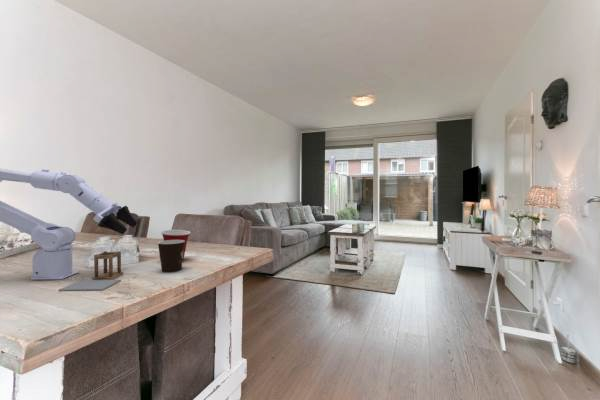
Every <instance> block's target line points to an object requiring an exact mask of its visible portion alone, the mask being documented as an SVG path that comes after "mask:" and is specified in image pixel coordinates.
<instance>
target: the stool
mask: <svg viewBox="0 0 600 400" xmlns="http://www.w3.org/2000/svg"><path fill="white" fill-rule="evenodd" d="M116 257H117V258H116ZM115 258H116V260H117V261H116V263H117V264H116V265H117V267H116V268H117V271H114V270H113V267H114V266H113V265H114V263H113V261H114V259H115ZM99 260H103V272H102V273H100V274H99ZM93 261H94V269H93V270H94V271H93V272H94V276H93V277H91V280H117V279H118V278H120V277H122V276H123V275H124V271H122V251H103V252H101V253H98V254H94V255H93Z"/></svg>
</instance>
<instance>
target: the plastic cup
mask: <svg viewBox="0 0 600 400" xmlns="http://www.w3.org/2000/svg"><path fill="white" fill-rule="evenodd" d="M160 234H161V235H162V238H163V241H166V240H184V241H185V243H184V252H183V260H184V259H185V253H186V248H187V244H188V239H189V236H190V234H191V231H189V230H185V229H167V230H162V231H161V233H160Z"/></svg>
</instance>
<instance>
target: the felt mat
mask: <svg viewBox="0 0 600 400" xmlns="http://www.w3.org/2000/svg"><path fill="white" fill-rule="evenodd" d="M121 281H122V280H121V279H114V280H92V279H80V280H78V281H75V282H73V283H70V284H68V285H66V286H63V287H61V288H59V289H58V291H57V292H84V291H85V292H90V291H92V292H93V291H97V292H98V291H101V292H102V291H105V290H106V289H109V288H111V287H112V286H114V285H117V283H120V282H121Z"/></svg>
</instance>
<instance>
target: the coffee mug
mask: <svg viewBox="0 0 600 400" xmlns="http://www.w3.org/2000/svg"><path fill="white" fill-rule="evenodd" d="M184 243H185V241H184V240H166V241H164V240H161V241H158V242H157V244H158V245H157V246H158V247H157V248H158V253H159V259H160V267H161V272H163V273H176V272H180V271H181V270H182V269H183V267H182V266H183V261H184V259H183V252H184ZM182 260H183V261H182Z"/></svg>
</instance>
